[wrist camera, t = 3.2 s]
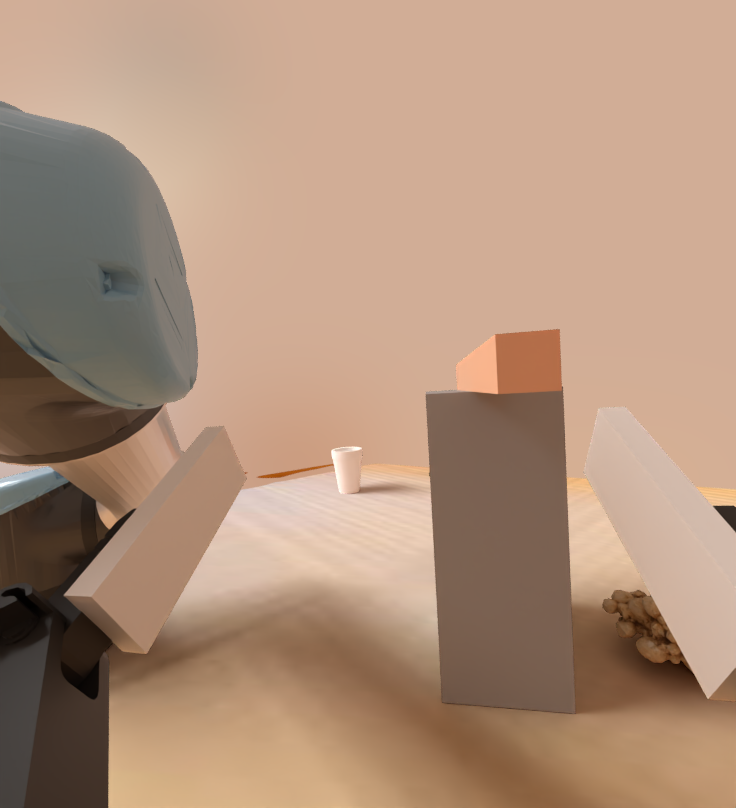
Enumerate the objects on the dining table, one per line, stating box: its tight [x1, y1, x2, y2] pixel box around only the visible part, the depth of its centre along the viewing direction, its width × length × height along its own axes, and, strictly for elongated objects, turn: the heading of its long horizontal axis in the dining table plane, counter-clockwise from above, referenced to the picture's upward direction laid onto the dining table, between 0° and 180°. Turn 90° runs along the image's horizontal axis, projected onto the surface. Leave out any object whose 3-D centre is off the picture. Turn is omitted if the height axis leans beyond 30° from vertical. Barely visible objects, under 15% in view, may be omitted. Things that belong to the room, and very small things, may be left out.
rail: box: [456, 329, 562, 394], centre depth 34 cm, size 28×4×4 cm, turn 171°
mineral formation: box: [602, 590, 693, 672], centre depth 39 cm, size 8×13×15 cm
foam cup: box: [332, 447, 363, 494], centre depth 110 cm, size 10×9×13 cm
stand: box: [426, 387, 576, 714], centre depth 42 cm, size 18×12×30 cm, turn 171°
